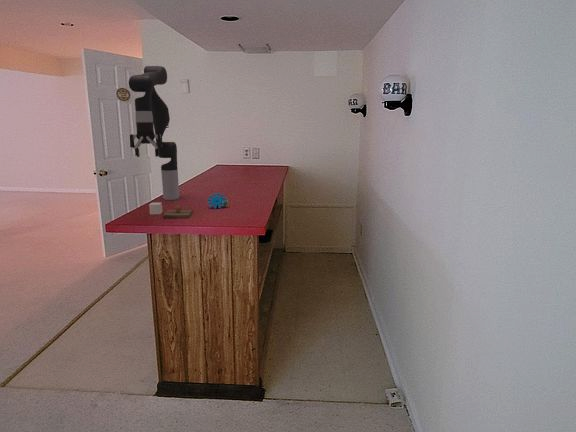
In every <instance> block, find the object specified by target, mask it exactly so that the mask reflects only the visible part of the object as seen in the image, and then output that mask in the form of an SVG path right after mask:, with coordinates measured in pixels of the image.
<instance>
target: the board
mask: <svg viewBox="0 0 576 432" xmlns="http://www.w3.org/2000/svg"><path fill="white" fill-rule="evenodd" d="M192 214H193V209H191V208H190V209H187V208H185V209H181V206H180V205H175V209H168V210H166V212H165V213H164V214H163V215H162V217H163V218H162V219H189V218H190V216H192Z"/></svg>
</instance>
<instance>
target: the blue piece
mask: <svg viewBox="0 0 576 432" xmlns="http://www.w3.org/2000/svg"><path fill="white" fill-rule="evenodd" d="M212 195H213V196H212ZM208 197H209V198H207V205H209V207H210V209H212V208H213V209H214V210H217V207H218V209H221V208H223V207H227V204H228V203H229V200H226V199H227V197H226V196H224V194H223V193H222V194H221V193H220V192H217V194H216V193H215V192H214V193H212V194H210V195H209V196H208Z"/></svg>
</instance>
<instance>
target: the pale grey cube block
mask: <svg viewBox="0 0 576 432" xmlns="http://www.w3.org/2000/svg"><path fill="white" fill-rule="evenodd" d="M162 204H163V203H162V202H151V203H150V204H148V206H149V215H162V213H163V205H162Z"/></svg>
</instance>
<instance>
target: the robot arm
mask: <svg viewBox="0 0 576 432" xmlns="http://www.w3.org/2000/svg"><path fill="white" fill-rule="evenodd" d="M167 82H168V72H167V70H166V68H165V67H164V66H161V65H146V66H144V68H143V73H142V74H135V75H131V76H130V77H129V79H128V88H129V89H130V90H131V91H132V92H134V93H144V95H143V96H139V97H136V98H135V99H134V108H135V109H134V110H135V111H134V112H135V118H134V119H135V126H136V134H133V133H132V134H129V147H130V148H132V149H134V154H135V156H136V158H139V157H140V149H139V148H140V146H141V145H142V144H143V145H144V144H148V145H149V144H151V145H152V146H153V147H154V155H155V157H156V158H159V159H160V158H161V159H170V160H169V161H167V163H163V164H161V165H160V168H161V169H160V173H161V181H162V182H161V184H162V196H163V197H162V198H163V200H165V201H173V200H179V199H180V185H179V171H178V169H179V168H178V148H177V143H176V142H175V141H163V136H164V133H165V131H166V129H167V127H168V126H169V124H170V120H171V119H170V111H169V108H168V105H167V104H166V103H165V101H164V100H163V99H162V98H161V97H160V95H159V94H158V92H157V90H156V88H155V86H159V85H160V86H162V85H165V84H166V83H167ZM135 139H137V142H136V144H135ZM154 139H155V140H154Z"/></svg>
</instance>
